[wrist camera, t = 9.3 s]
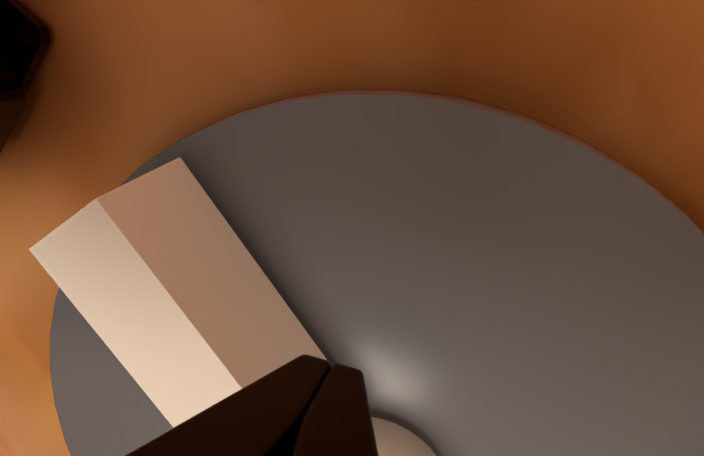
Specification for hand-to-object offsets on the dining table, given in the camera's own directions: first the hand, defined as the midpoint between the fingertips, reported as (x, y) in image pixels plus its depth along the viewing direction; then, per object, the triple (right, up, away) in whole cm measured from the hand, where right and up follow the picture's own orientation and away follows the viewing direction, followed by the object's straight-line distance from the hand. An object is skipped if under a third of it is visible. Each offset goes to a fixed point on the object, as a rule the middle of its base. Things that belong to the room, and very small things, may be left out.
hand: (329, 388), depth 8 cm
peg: (+1, -6, +11) cm, 13 cm away
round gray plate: (+1, -6, +13) cm, 14 cm away
